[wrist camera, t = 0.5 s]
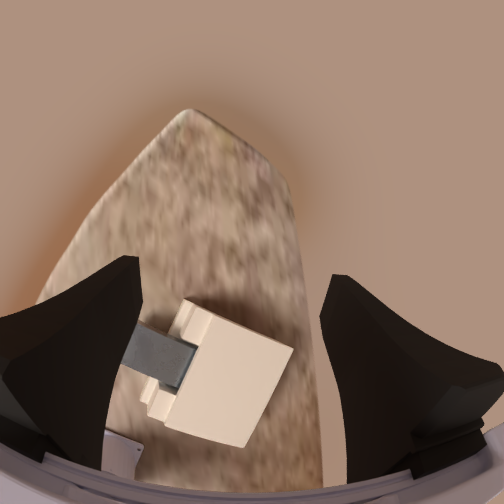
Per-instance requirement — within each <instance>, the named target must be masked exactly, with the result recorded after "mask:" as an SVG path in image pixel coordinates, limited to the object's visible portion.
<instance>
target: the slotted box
mask: <svg viewBox="0 0 504 504" xmlns="http://www.w3.org/2000/svg"><path fill="white" fill-rule="evenodd" d="M167 334H170V335H172V336H174V337H176V338H178V339H181V340H183V341H185V342H187V343H190V344H192V345H194V346H197V347H198V349H197V351H196V353H195V355H194V357H193V360H192V362H191V364H190V366H189V368H188V371H187V373H186V375H185V377H184V379H183V381H182V384H181V386H180V388H177V387H174V386H172V385H169V384H167V383H164V382H162V381H159V380H157V379H155V378H152V377H150V376H148V379H147V381H146V384H145V386H144V388H143V391H142V393H141V395H140V401H141V402H144V403H146V404H147V416H149V417H152V418H155V419H157V420H160V421H163V422H164V426H166V427H169V428H172V429H175V430H178V431H181V432H184V433H187V434H191V435H194V436H197V437H201V438H204V439H208V440H212V441H215V442H219V443H223V444H227V445H232V446H236V447H241V448H244V447H245V445H246V443H247V441H248V439H249V438H250V436H251V434H252V432H253V430H254V428H255V426H256V425H257V423H258V421H259V419H260V417H261V415H262V413H263V411H264V409H265V407H266V405H267V403H268V401H269V399H270V397H271V395H272V393H273V391H274V389H275V387H276V385H277V383H278V381H279V379H280V377H281V375H282V373H283V371H284V369H285V367H286V364H287V362H288V360H289V358H290V356H291V354H292V351H293V348H291V347H289V346H287V345H285V344H283V343H281V342H279V341H277V340H275V339H272V338H270V337H268V336H265V335H263V334H261V333H258V332H256V331H254V330H251V329H249V328H247V327H244V326H242V325H240V324H237V323H235V322H233V321H231V320H228V319H226V318H224V317H222V316H220V315H217V314H215V313H213V312H211V311H209V310H207V309H205V308H202V307H200V306H198V305H196V304H194V303H192V302H190V301H188V300H186V299H183V301H182V303H181V305H180V307H179V309H178V312H177V314H176V316H175V318H174V320H173V322H172V325H171V327H170V329H169V331H168V333H167Z"/></svg>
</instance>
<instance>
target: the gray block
mask: <svg viewBox="0 0 504 504" xmlns="http://www.w3.org/2000/svg"><path fill="white" fill-rule="evenodd" d="M197 349H198V347H197V346H194V345H192V344H190V343H187V342H185V341H183V340H181V339H178V338H176V337H174V336H172V335H170V334H167V333H165V332H163V331H161V330H159V329H157V328H155V327H152V326H150V325H148V324H146V323H144V322H142V321H140V320H138V322H137V325H136V327H135V330H134V332H133V334H132V337H131V339H130V342H129V344H128V346H127V349H126V351H125V354H124V356H123V359H122V361H121V364H123V365H125V366H128V367H130V368H132V369H134V370H136V371H139V372H141V373H143V374H145V375H148V376H150V377H152V378H155V379H157V380H159V381H162V382H164V383H167V384H169V385H172V386H174V387H177V388H180V386H181V384H182V381H183V379H184V377H185V375H186V373H187V371H188V368H189V366H190V364H191V362H192V360H193V357H194V355H195V353H196V351H197Z"/></svg>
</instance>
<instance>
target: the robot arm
mask: <svg viewBox="0 0 504 504" xmlns="http://www.w3.org/2000/svg"><path fill="white" fill-rule="evenodd" d="M142 304H143V297H142V288H141V277H140V266H139V257H135V256H126V255H123V256H121V257H119V258H118V259H116V260H114V261H113V262H111V263H109V264H108V265H106V266H105V267H103V268H102V269H100V270H99V271H97V272H95V273H94V274H92V275H91V276H89V277H88V278H86V279H84V280H83V281H81V282H79V283H78V284H76V285H74V286H73V287H71V288H69V289H68V290H66V291H64V292H62V293H60V294H58V295H56V296H54V297H52V298H50V299H48V300H46V301H44V302H42V303H40V304H37V305H35V306H32V307H30V308H27V309H25V310H22V311H20V312H17V313H14V314H11V315H8V316H4V317H1V318H0V504H486V503H488V502H489V501H490V500H492V499H493V498H494V497H496V496H497V495H498V494H499V493H501V492H502V491H503V490H504V422H503V423H502V424H500V425H498V426H496V427H494V428H492V429H490V430H489V431H487V432H486V433H484V434H482V432H481V430H480V428H482V427H483V426H484V422H483V420H482V418H481V417H482V416H483V415H484V414H485V413H486V412H487V411H488V410H489V409H490V408H491V407H492V406H493V404H494V403H495V402H496V401H497V400H498V398H499V397H500V396H501V395H502V394H503V392H504V372H503V370H502V368H501V367H500V366H499V365H498V364H497V363H494V362H491V361H487V360H484V359H481V358H478V357H474V356H472V355H469V354H467V353H464V352H462V351H459V350H457V349H455V348H453V347H451V346H448V345H446V344H444V343H442V342H441V341H438V340H437V339H435V338H433V337H431V336H429V335H428V334H426V333H424V332H423V331H421V330H420V329H418V328H416V327H415V326H413V325H412V324H410V323H409V322H407V321H406V320H404V319H403V318H402V317H400V316H399V315H397V314H396V313H395V312H394V311H392V310H391V309H389V308H388V307H387V306H386V305H385V304H383V303H382V302H381V301H380V300H378V299H377V298H376V297H375V296H374V295H372V294H371V293H370V292H369V291H367V290H366V289H365V288H364V287H362V286H361V285H360V284H359V283H357V282H356V281H355V280H353V279H352V278H351V277H349V276H347V275H336V274H333V275H332V278H331V281H330V285H329V288H328V291H327V294H326V297H325V300H324V304H323V307H322V310H321V313H320V316H319V317H320V323H321V329H322V335H323V340H324V343H325V346H326V349H327V353H328V356H329V359H330V362H331V366H332V369H333V372H334V375H335V378H336V382H337V385H338V389H339V393H340V399H341V405H342V412H343V419H344V427H345V438H346V452H347V484H345V485H339V486H333V487H327V488H319V489H311V490H301V491H288V492H269V493H233V492H214V491H201V490H191V489H183V488H175V487H169V486H162V485H157V484H151V483H146V482H141V481H136V480H135V468H136V465H137V463H138V461H139V458H140V456H141V454H142V451H143V449H144V445H143V444H141V443H138V442H136V441H133V440H130V439H128V438H125V437H123V436H120V435H118V434H115V433H113V432H111V431H108V430H106V429H105V425H106V419H107V414H108V408H109V403H110V398H111V394H112V390H113V386H114V381H115V378H116V375H117V372H118V369H119V366H120V364H121V361H122V359H123V356H124V354H125V351H126V349H127V346H128V344H129V342H130V339H131V337H132V334H133V332H134V330H135V327H136V325H137V322H138V318H139V315H140V311H141V307H142ZM138 448H139V449H141V450H138Z"/></svg>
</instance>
